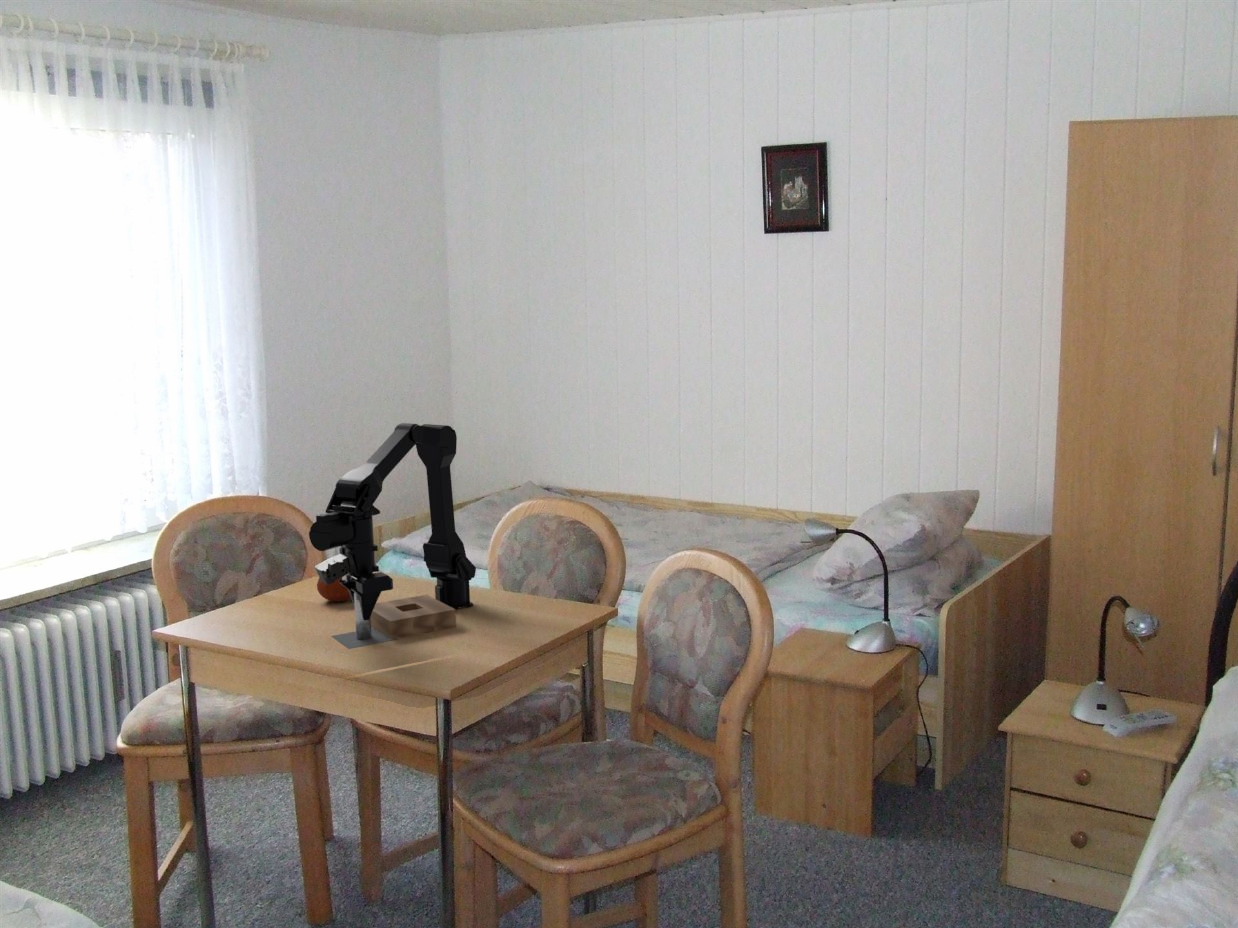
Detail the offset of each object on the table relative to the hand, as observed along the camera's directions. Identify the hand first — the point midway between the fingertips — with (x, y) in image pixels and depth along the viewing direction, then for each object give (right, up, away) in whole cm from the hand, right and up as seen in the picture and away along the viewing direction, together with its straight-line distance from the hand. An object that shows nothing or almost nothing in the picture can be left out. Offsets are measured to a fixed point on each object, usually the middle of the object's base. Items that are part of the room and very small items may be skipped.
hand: (363, 617), depth 245 cm
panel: (0, -4, +1) cm, 4 cm away
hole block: (+8, -3, +9) cm, 12 cm away
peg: (0, -4, +1) cm, 4 cm away
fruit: (-12, 0, +30) cm, 32 cm away
